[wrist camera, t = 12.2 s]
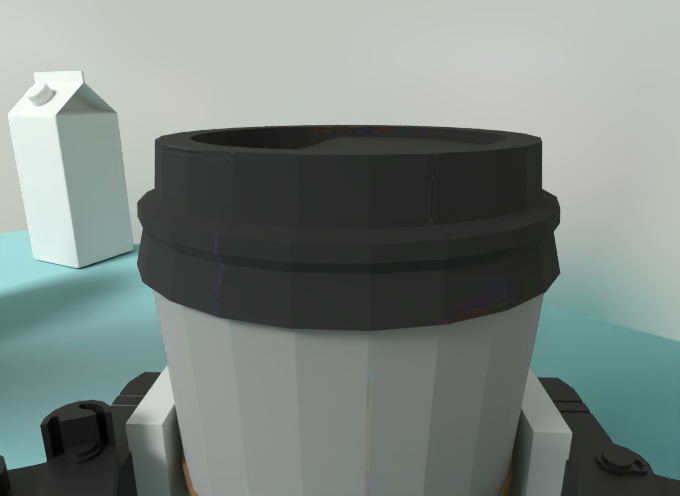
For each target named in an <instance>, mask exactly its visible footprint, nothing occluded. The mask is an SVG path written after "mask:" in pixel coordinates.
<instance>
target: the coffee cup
mask: <svg viewBox="0 0 680 496" xmlns="http://www.w3.org/2000/svg"><path fill="white" fill-rule="evenodd" d="M137 205H138V206H137V209H138V218H139V220H140V223H141V225H142V227H143V231H142V237H141V243H140V249H139V255H138V261H137V265H138V269H139V272H140V275H141V278H142V281H143V283H145V284H146V285H148V286H149V287H150V288H152V289H153V290H154V296H155V301H156V306H157V312H158V317H159V322H160V328H161V333H162V338H163V344H164V349H165V354H166V360H167V365H168V370H169V376H170V381H171V386H172V392H173V397H174V402H175V408H176V413H177V418H178V423H179V429H180V434H181V439H182V445H183V455H182V466H183V471H184V476H185V482H186V487H187V492H188V496H509V492H510V487H511V482H512V473H513V447H514V442H515V437H516V432H517V427H518V422H519V417H520V412H521V406H522V401H523V396H524V391H525V386H526V381H527V376H528V371H529V366H530V361H531V356H532V351H533V346H534V341H535V336H536V331H537V326H538V321H539V316H540V311H541V306H542V301H543V295H544V293H545V292H546V291H547V290H548V288H549V287H550V286H551V285H552V283H553V282H554V281H555V279H556V278H557V277H558V276H559V274H560V269H559V262H558V256H557V250H556V244H555V238H554V230H555V229H556V228H557V226H558V225H559V223H560V206H559V203H558V200H557V197H556V196H554V195H552V194H551V193H549V192H547V191H545V190H543V189H542V140H541V138H540V137H536V136H532V135H528V134H522V133H515V132H506V131H497V130H485V129H472V128H453V127H430V126H428V127H427V126H388V125H304V126H303V125H301V126H265V127H245V128H226V129H211V130H200V131H191V132H181V133H175V134H170V135H164V136H161V137H159V138H157V139H156V140H155V189H153V190H150V191H148V192H147V193H146V194H145V195H144V196H143V197H142V198H141V199H140V200H139V201H138V203H137Z"/></svg>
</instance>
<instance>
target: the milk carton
mask: <svg viewBox="0 0 680 496" xmlns="http://www.w3.org/2000/svg"><path fill="white" fill-rule="evenodd" d="M34 78H35V84H34V85H33V86H32V87H31V88H30V89H29V90H28V91H27V92H26V95H24V96H23V98H22V99H21V100H20V101H19V102H18V103H17V104H16V105H15V106H14V107H13V109H12V110H11V111H10V112H9V113H8V120H9V126H10V131H11V137H12V142H13V148H14V153H15V159H16V164H17V170H18V175H19V181H20V186H21V191H22V197H23V202H24V208H25V213H26V219H27V224H28V230H29V235H30V240H31V246H32V251H33V257H34V259H36V260H41V261H45V262H50V263H55V264H60V265H65V266H69V267H74V268H81V267H84V266H87V265H90V264H93V263H96V262H99V261H102V260H105V259H108V258H111V257H114V256H117V255H120V254H123V253H126V252H129V251H132V250H134V246H133V238H132V230H131V222H130V213H129V205H128V198H127V190H126V181H125V173H124V165H123V157H122V149H121V140H120V132H119V124H118V116H117V112H115V111H114V110H113V109H112V108H111V107H110V106H109V105H108V104H107V103H106V102H105V101H104V100H103V99H102V98H100V97H99V96H98V95H97V94H96V93H95V92H94V91H93V90H92V89H91V88H89V86H87V85H86V84H85V82H84V75H83V71H60V72H34Z"/></svg>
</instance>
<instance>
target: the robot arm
mask: <svg viewBox="0 0 680 496" xmlns="http://www.w3.org/2000/svg"><path fill="white" fill-rule="evenodd" d="M40 427H41V432H42V437H43V442H44V447H45V452H46V457H47V461H46V463H42V464H38V465H33V466H28V467H23V468H17V469H12V470H7V468H6V464H5V460H4V457H2V456H1V455H0V496H188V492H187V487H186V482H185V476H184V471H183V466H182V455H183V445H182V439H181V434H180V429H179V423H178V418H177V413H176V408H175V402H174V397H173V392H172V386H171V381H170V376H169V370H168V365H167V366H166V367H165V369H164V370H163V371H162V372H144V373H142V374H141V375H139V376H138V377H136V378H135V379H133V380H132V381H130V382H129V383H128V384H127V385H126V387H125V388H124V389H123V390H122V392H121V393H120V396H118V397H117V398H116V399H115V400H114V402H113V403H112V406H109V405H108V404H106V403H104V402H102V401H96V400H87V401H79V402H75V403H71V404H68V405H65V406H63V407H61V408H59V409H57V410H55V411H53V412H52V413H51V414H49V415H48V416H47V417H45V419H44V420H43V422H42V423H41V425H40ZM509 496H680V481H679V480H675V479H670V478H666V477H663V476H659V475H656V474H654V472H653V471H652V469H651V467H650V465H649V463H648V462H646V461H645V460H644V459H643V458H642V457H641V456H640V455H638V454H636V453H635V452H633V451H631V450H629V449H628V448H625V447H622V446H619V445H616V444H614V443H613V442H612V440H611V439H610V438H609V436H608V435H607V433H606V432H605V431H604V429H603V428H602V427H601V425H600V424H599V423H598V421H597V420H596V419H595V417H594V416H593V414H591V413H590V410H589V409H588V408H587V406H586V405H585V404H584V403H583V402H582V400H581V398H580V397H579V395H578V394H577V393H576V391H575V390H574V389H573V388H572V387H570V386H569V385H567V384H566V383H565V382H563V381H562V380H560V379H559V378H538V377H536V375H535V373H534V372H533V370H532V369H531V367H530V366H529V371H528V376H527V381H526V386H525V391H524V396H523V401H522V406H521V412H520V417H519V422H518V427H517V432H516V437H515V442H514V447H513V473H512V482H511V487H510V492H509Z"/></svg>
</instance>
